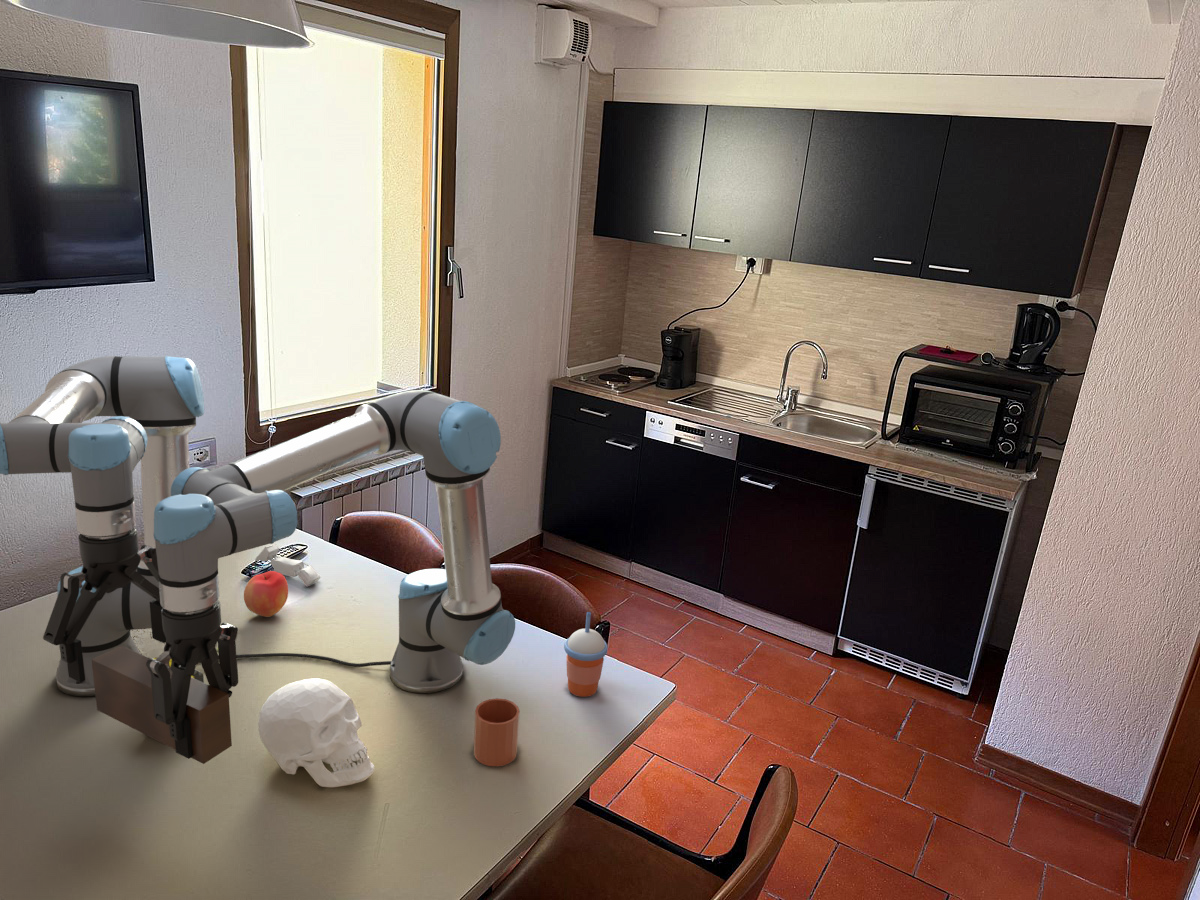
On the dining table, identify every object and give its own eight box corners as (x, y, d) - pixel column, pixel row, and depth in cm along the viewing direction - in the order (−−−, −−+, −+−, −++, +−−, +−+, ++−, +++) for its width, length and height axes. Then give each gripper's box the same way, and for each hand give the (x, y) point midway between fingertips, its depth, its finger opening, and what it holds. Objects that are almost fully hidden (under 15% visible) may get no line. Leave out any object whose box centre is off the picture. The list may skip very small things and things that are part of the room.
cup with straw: (599, 704, 176) (605, 627, 171) (556, 696, 178) (561, 619, 172) (607, 681, 185) (614, 606, 179) (566, 673, 186) (572, 599, 181)
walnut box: (96, 710, 134) (91, 659, 131) (126, 694, 138) (121, 645, 135) (203, 764, 124) (199, 710, 121) (232, 745, 128) (228, 693, 125)
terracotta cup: (465, 756, 158) (466, 714, 155) (489, 734, 164) (491, 693, 162) (501, 772, 154) (503, 729, 152) (525, 748, 161) (527, 707, 158)
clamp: (253, 565, 223) (254, 542, 221) (265, 560, 226) (266, 537, 224) (309, 593, 215) (310, 569, 213) (320, 588, 218) (321, 564, 216)
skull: (353, 805, 143) (354, 722, 139) (242, 771, 149) (240, 691, 144) (394, 760, 155) (396, 682, 151) (290, 730, 161) (289, 655, 157)
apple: (273, 600, 207) (272, 562, 204) (297, 613, 202) (296, 575, 199) (237, 614, 200) (234, 575, 197) (261, 628, 194) (259, 588, 191)
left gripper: (36, 565, 113) (54, 705, 119) (198, 511, 134) (206, 632, 140) (2, 551, 116) (21, 688, 122) (166, 501, 137) (175, 619, 144)
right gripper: (150, 638, 111) (164, 787, 118) (261, 586, 126) (267, 721, 133) (112, 621, 114) (128, 768, 121) (225, 573, 129) (233, 705, 136)
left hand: (120, 658), depth 131 cm, fingers open, 13 cm apart
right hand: (201, 743), depth 127 cm, fingers closed on walnut box, 5 cm apart
